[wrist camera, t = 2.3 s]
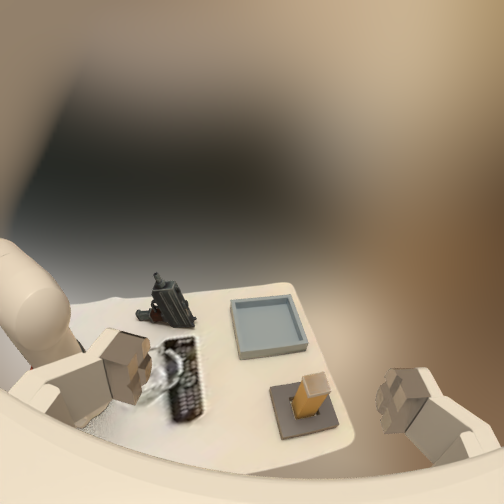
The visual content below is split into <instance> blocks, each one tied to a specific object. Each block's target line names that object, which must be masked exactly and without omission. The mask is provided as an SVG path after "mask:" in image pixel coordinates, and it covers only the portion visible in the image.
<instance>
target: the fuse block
mask: <svg viewBox="0 0 504 504" xmlns="http://www.w3.org/2000/svg"><path fill="white" fill-rule="evenodd" d="M300 383H301V382H297V383H292V384H286V385H280V386H273V387H270V390H269V392H270V396H271V400H272V404H273V408H274V412H275V416H276V420H277V424H278V428H279V432H280V436H281V440H284V439H289V438H294V437H299V436H303V435H308V434H312V433H316V432H320V431H324V430H328V429H332V428H335V427H337V426H338V425H339V422H338V419H337V417H336V414H335V411H334V408H333V405H332V402H331V399H330V397H329V394H328V395H327V397H326V398H325V400H324V401H323V403H322V404H321V406H320V407H319V409H318V410H317V412H316V413H317V416H313V417H308V418H304V419H299V420H295V418H294V415H293V411H292V408H291V404H290V401H291V400H293V399H294V397H295V394H296V392H297V390H298V388H299V386H300Z"/></svg>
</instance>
